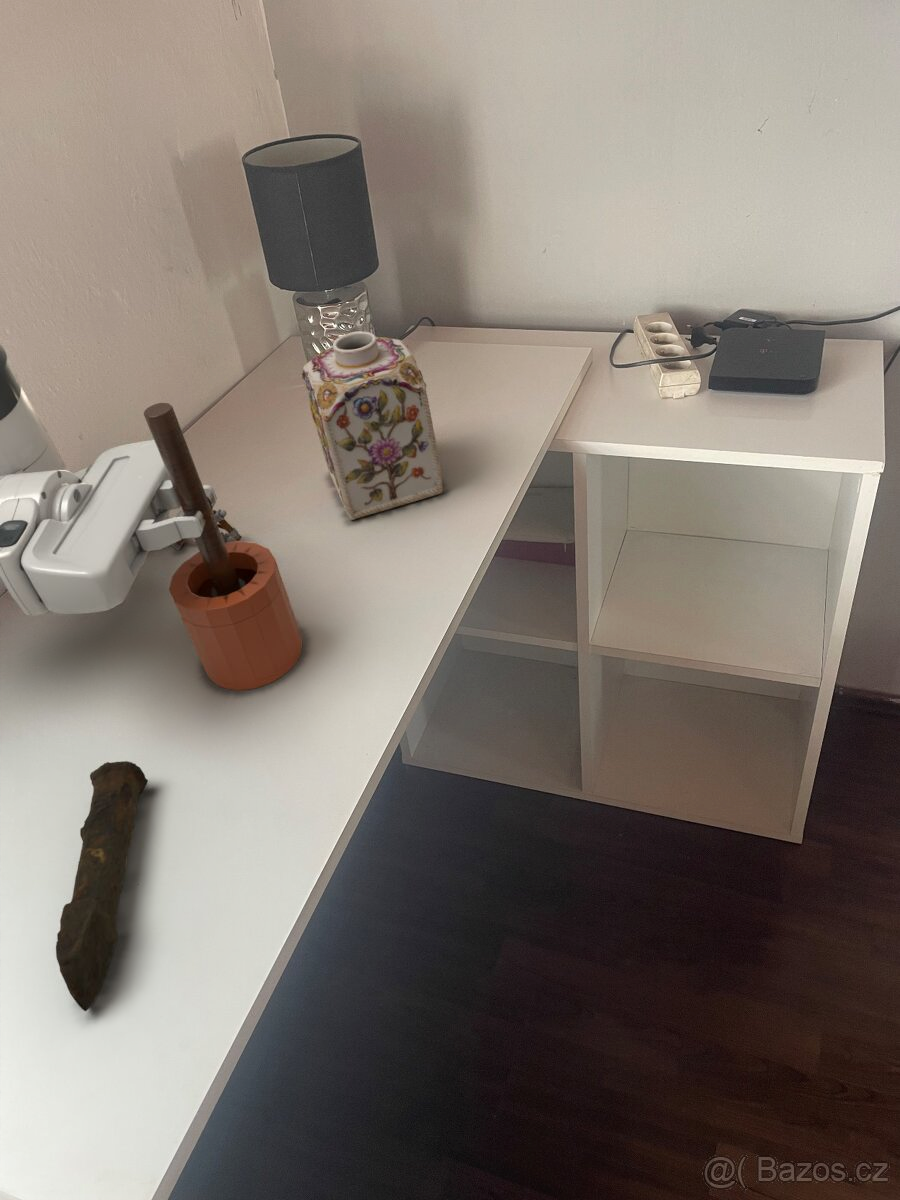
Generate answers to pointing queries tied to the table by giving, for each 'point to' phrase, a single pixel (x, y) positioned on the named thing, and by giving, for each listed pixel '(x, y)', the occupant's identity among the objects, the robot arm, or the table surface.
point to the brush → (192, 496)
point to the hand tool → (98, 881)
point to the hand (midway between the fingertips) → (207, 510)
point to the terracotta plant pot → (239, 619)
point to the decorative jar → (373, 423)
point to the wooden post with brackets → (222, 524)
